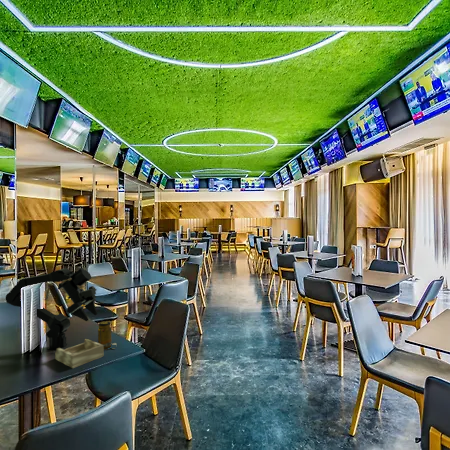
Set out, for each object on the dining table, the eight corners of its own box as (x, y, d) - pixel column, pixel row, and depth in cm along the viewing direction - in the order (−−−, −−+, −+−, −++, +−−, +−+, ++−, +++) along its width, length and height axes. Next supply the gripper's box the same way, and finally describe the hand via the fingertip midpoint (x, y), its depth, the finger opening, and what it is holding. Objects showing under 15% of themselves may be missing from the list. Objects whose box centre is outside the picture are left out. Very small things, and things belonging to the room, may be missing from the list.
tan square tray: (55, 359, 135) (55, 347, 135) (85, 348, 146) (85, 338, 146) (72, 368, 126) (72, 356, 126) (103, 356, 138) (103, 345, 138)
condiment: (98, 345, 150) (98, 320, 150) (116, 343, 152) (116, 319, 152) (96, 351, 143) (95, 325, 143) (115, 349, 145) (115, 324, 145)
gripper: (77, 285, 138) (97, 313, 138) (95, 278, 157) (113, 302, 157) (57, 299, 139) (77, 327, 138) (78, 290, 157) (95, 315, 157)
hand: (92, 317), depth 148 cm, fingers open, 9 cm apart
